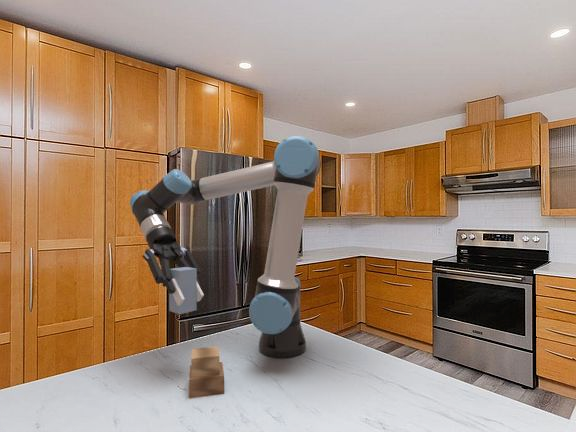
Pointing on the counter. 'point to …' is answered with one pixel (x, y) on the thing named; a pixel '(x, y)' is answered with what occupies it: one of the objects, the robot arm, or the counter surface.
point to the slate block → (184, 289)
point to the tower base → (206, 384)
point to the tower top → (205, 362)
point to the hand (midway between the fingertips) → (191, 300)
